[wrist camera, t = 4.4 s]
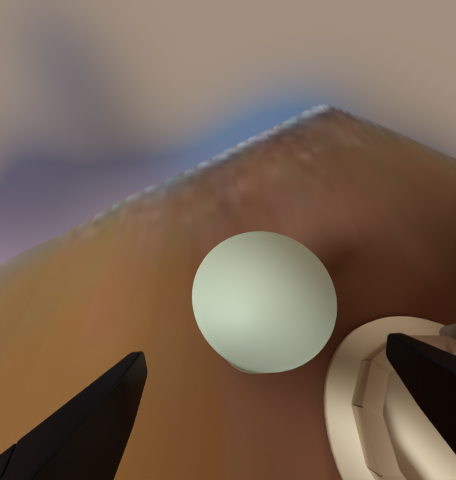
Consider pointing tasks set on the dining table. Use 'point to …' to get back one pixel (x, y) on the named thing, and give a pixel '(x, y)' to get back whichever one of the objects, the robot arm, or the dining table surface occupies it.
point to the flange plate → (383, 407)
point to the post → (264, 302)
